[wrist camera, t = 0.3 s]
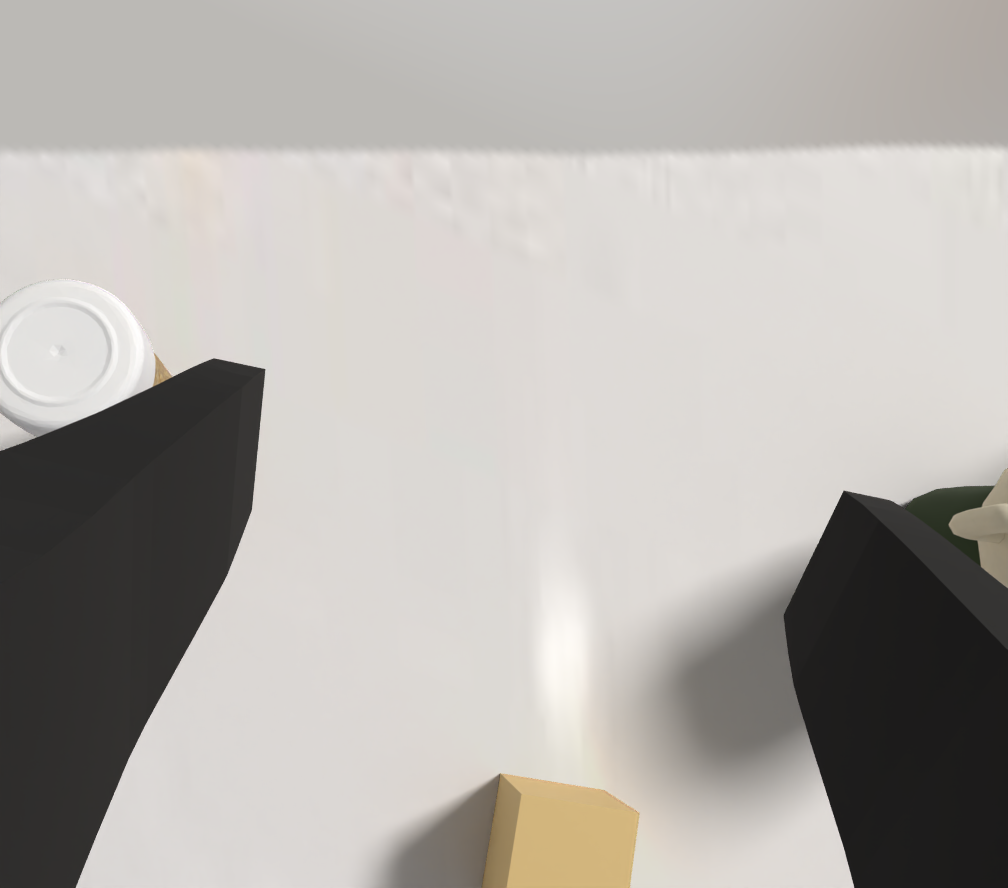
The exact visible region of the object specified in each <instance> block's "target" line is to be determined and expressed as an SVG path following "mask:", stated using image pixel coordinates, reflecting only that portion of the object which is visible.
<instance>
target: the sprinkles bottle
mask: <svg viewBox="0 0 1008 888" xmlns="http://www.w3.org/2000/svg"><path fill="white" fill-rule="evenodd" d="M171 377H174V376H173V375H172V374H171V373H170V371H169V370H168V369H167V368H166V367H165V366H164V365H163V364H162V362H161V361H160V360H159V358H158V357H157V356H156V355H155V353H154V351H153V347H152V344H151V341H150V339H149V337H148V335H147V333H146V332H145V330H144V328H143V327H142V325H141V324H140V323H139V321H138V320H137V318H136V317H135V316H134V315H133V313H132V312H131V311H130V310H129V308H128V307H127V306H126V305H125V304H124V303H123V302H122V301H121V300H119V299H118V298H117V297H116V296H114V295H113V294H111V293H110V292H108V291H106V290H105V289H103V288H100V287H98V286H96V285H93V284H90V283H87V282H82V281H77V280H71V279H57V280H48V281H42V282H38V283H35V284H32V285H29V286H26V287H24V288H22V289H20V290H18V291H16V292H14V293H13V294H11V295H10V296H8V297H7V298H6V299H4V300H3V301H2V302H1V303H0V413H1V414H2V415H4V416H5V417H6V418H8V419H9V420H10V421H12V422H13V423H14V424H16V425H17V426H19V427H20V428H22V429H24V430H25V431H27V432H28V433H30V434H32V435H34V436H37V437H39V436H42V435H44V434H46V433H49V432H51V431H54V430H56V429H59V428H61V427H64V426H66V425H68V424H71V423H73V422H76V421H78V420H81V419H83V418H86V417H88V416H90V415H93V414H95V413H98V412H100V411H102V410H104V409H106V408H108V407H111V406H113V405H115V404H117V403H119V402H121V401H123V400H125V399H128V398H130V397H132V396H134V395H136V394H138V393H140V392H143V391H145V390H147V389H149V388H151V387H153V386H155V385H157V384H159V383H161V382H163V381H165V380H167V379H169V378H171Z"/></svg>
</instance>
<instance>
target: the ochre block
mask: <svg viewBox="0 0 1008 888" xmlns="http://www.w3.org/2000/svg"><path fill="white" fill-rule="evenodd" d="M638 820H639V812H637V811H636V810H634V809H633V808H631V807H630V806H628V805H626V804H625V803H623V802H622V801H620V800H619V799H617V798H616V797H614V796H612V795H611V794H609V793H608V792H606V791H605V790H600V789H593V788H587V787H581V786H575V785H569V784H563V783H557V782H550V781H544V780H538V779H532V778H526V777H520V776H513V775H507V774H500V780H499V786H498V792H497V798H496V804H495V810H494V816H493V822H492V828H491V834H490V840H489V847H488V853H487V859H486V865H485V871H484V877H483V883H482V888H630V881H631V873H632V866H633V858H634V851H635V843H636V836H637V828H638Z"/></svg>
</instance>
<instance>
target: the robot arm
mask: <svg viewBox="0 0 1008 888" xmlns="http://www.w3.org/2000/svg"><path fill="white" fill-rule="evenodd" d="M264 378H265V369H262V368H257V367H252V366H248V365H243V364H238V363H233V362H228V361H224V360H219V359H211V360H209V361H206V362H204V363H201V364H199V365H197V366H195V367H192V368H190V369H188V370H186V371H184V372H182V373H180V374H178V375H176V376H174V377H171V378H169V379H167V380H165V381H163V382H161V383H159V384H157V385H155V386H153V387H151V388H149V389H147V390H145V391H143V392H140V393H138V394H136V395H134V396H132V397H130V398H128V399H125V400H123V401H121V402H119V403H117V404H115V405H113V406H111V407H108V408H106V409H104V410H102V411H100V412H98V413H95V414H93V415H90V416H88V417H86V418H83V419H81V420H78V421H76V422H73V423H71V424H68V425H66V426H64V427H61V428H59V429H56V430H54V431H51V432H49V433H46V434H44V435H42V436H39V437H37V438H34V439H32V440H29V441H27V442H24V443H22V444H19V445H16V446H13V447H11V448H8V449H5V450H2V451H0V888H76V885H77V883H78V880H79V878H80V875H81V873H82V870H83V868H84V865H85V863H86V860H87V858H88V855H89V853H90V850H91V848H92V845H93V843H94V840H95V838H96V835H97V833H98V831H99V828H100V826H101V823H102V821H103V819H104V816H105V814H106V812H107V809H108V807H109V804H110V802H111V800H112V797H113V795H114V792H115V790H116V788H117V785H118V783H119V781H120V778H121V776H122V773H123V771H124V769H125V766H126V764H127V761H128V759H129V757H130V755H131V753H132V751H133V749H134V747H135V745H136V743H137V741H138V739H139V737H140V735H141V733H142V731H143V729H144V727H145V725H146V723H147V721H148V719H149V717H150V715H151V714H152V712H153V710H154V708H155V706H156V704H157V703H158V701H159V699H160V697H161V695H162V694H163V692H164V690H165V688H166V686H167V685H168V683H169V681H170V679H171V677H172V675H173V674H174V672H175V670H176V668H177V666H178V665H179V663H180V661H181V659H182V657H183V656H184V654H185V652H186V650H187V648H188V646H189V645H190V643H191V641H192V639H193V637H194V636H195V634H196V632H197V630H198V628H199V627H200V625H201V623H202V621H203V619H204V617H205V616H206V614H207V612H208V610H209V608H210V606H211V604H212V603H213V601H214V599H215V597H216V595H217V593H218V592H219V590H220V588H221V586H222V584H223V582H224V580H225V578H226V576H227V574H228V571H229V569H230V566H231V564H232V561H233V559H234V556H235V554H236V551H237V548H238V546H239V543H240V540H241V538H242V535H243V532H244V530H245V527H246V524H247V521H248V519H249V516H250V513H251V511H252V502H253V492H254V482H255V471H256V461H257V450H258V440H259V430H260V419H261V409H262V398H263V388H264ZM784 623H785V631H786V639H787V646H788V654H789V660H790V666H791V672H792V678H793V684H794V688H795V691H796V695H797V698H798V702H799V705H800V709H801V712H802V715H803V719H804V722H805V725H806V729H807V732H808V735H809V738H810V742H811V745H812V748H813V751H814V754H815V758H816V761H817V764H818V767H819V770H820V774H821V777H822V780H823V783H824V786H825V789H826V793H827V796H828V799H829V802H830V805H831V808H832V812H833V815H834V818H835V821H836V824H837V827H838V831H839V834H840V837H841V840H842V843H843V847H844V850H845V854H846V857H847V861H848V865H849V869H850V872H851V876H852V880H853V884H854V888H1008V588H1007V587H1005V586H1004V585H1003V584H1002V583H1000V582H999V581H998V580H997V579H995V578H994V577H993V576H992V575H990V574H989V573H988V572H987V571H985V570H984V569H983V568H982V567H980V566H979V565H978V564H977V563H975V562H974V561H973V560H972V559H970V558H969V557H968V556H967V555H965V554H964V553H963V552H962V551H960V550H959V549H958V548H957V547H955V546H954V545H953V544H952V543H950V542H949V541H948V540H946V539H945V538H944V537H943V536H941V535H940V534H939V533H937V532H936V531H935V530H933V529H932V528H931V527H929V526H928V525H927V524H925V523H924V522H923V521H921V520H920V519H919V518H917V517H916V516H914V515H913V514H911V513H910V512H908V511H907V510H905V509H904V508H902V507H901V506H899V505H897V504H896V503H894V502H892V501H890V500H886V499H881V498H876V497H871V496H867V495H862V494H857V493H852V492H848V491H843V493H842V495H841V498H840V500H839V502H838V504H837V506H836V508H835V510H834V512H833V514H832V516H831V518H830V520H829V522H828V524H827V526H826V529H825V531H824V533H823V535H822V537H821V539H820V541H819V543H818V545H817V547H816V549H815V551H814V553H813V555H812V557H811V560H810V562H809V564H808V566H807V568H806V570H805V572H804V574H803V576H802V578H801V580H800V582H799V584H798V586H797V588H796V591H795V593H794V595H793V597H792V599H791V601H790V603H789V605H788V607H787V609H786V611H785V613H784Z"/></svg>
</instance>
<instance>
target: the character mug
mask: <svg viewBox="0 0 1008 888" xmlns="http://www.w3.org/2000/svg"><path fill="white" fill-rule="evenodd" d="M905 510H907V511H908V512H910V513H911V514H913V515H914V516H916V517H917V518H919V519H920V520H921V521H923V522H924V523H925V524H927V525H928V526H929V527H931V528H932V529H933V530H935V531H936V532H937V533H939V534H940V535H941V536H943V537H944V538H945V539H946V540H948V541H949V542H950V543H952V544H953V545H954V546H955V547H957V548H958V549H959V550H960V551H962V552H963V553H964V554H965V555H967V556H968V557H969V558H970V559H972V560H973V561H974V562H975V563H977V564H978V565H979V566H980V567H982V568H983V569H984V570H985V571H987V572H988V573H989V574H990V575H992V576H993V577H994V578H995V579H997V580H998V581H999V582H1000V583H1002V584H1003V585H1004V586H1005V587H1007V588H1008V468H1007V469H1006V470H1004V472H1003V473H1002V475H1001V477H1000V478H999V480H998V482H997V484H996V485H995V486H964V487H954V488H943V489H936V490H934V491H931V492H929V493H926V494H924V495H922V496H919V497H917V498H914V499H913V500H912V501H911V503H910V504H909V505H908V506H907V508H906V509H905Z"/></svg>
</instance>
